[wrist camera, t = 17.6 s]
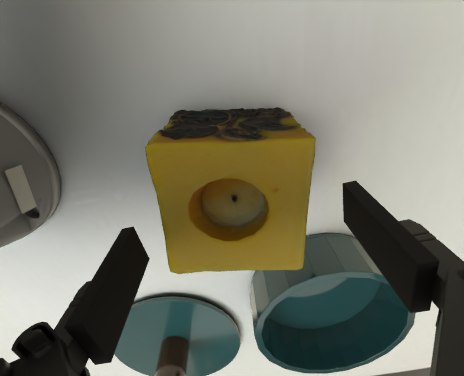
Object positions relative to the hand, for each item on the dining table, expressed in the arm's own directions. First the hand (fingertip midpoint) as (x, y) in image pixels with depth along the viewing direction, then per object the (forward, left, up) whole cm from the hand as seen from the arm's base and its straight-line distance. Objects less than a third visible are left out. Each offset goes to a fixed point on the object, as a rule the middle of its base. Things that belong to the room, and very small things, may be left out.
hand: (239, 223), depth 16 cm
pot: (+7, -20, -11) cm, 23 cm away
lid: (-14, -25, -10) cm, 30 cm away
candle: (0, 0, -11) cm, 11 cm away
